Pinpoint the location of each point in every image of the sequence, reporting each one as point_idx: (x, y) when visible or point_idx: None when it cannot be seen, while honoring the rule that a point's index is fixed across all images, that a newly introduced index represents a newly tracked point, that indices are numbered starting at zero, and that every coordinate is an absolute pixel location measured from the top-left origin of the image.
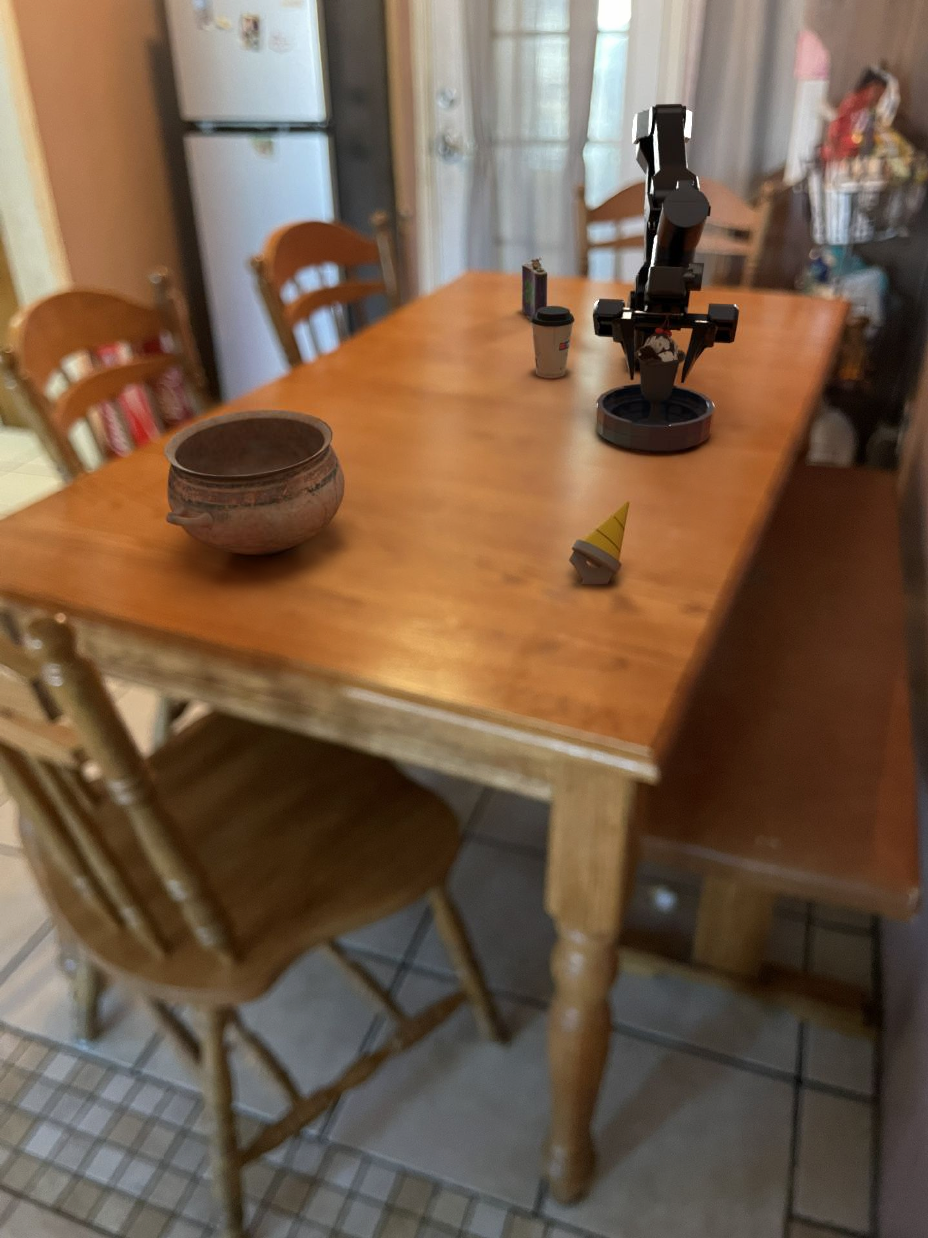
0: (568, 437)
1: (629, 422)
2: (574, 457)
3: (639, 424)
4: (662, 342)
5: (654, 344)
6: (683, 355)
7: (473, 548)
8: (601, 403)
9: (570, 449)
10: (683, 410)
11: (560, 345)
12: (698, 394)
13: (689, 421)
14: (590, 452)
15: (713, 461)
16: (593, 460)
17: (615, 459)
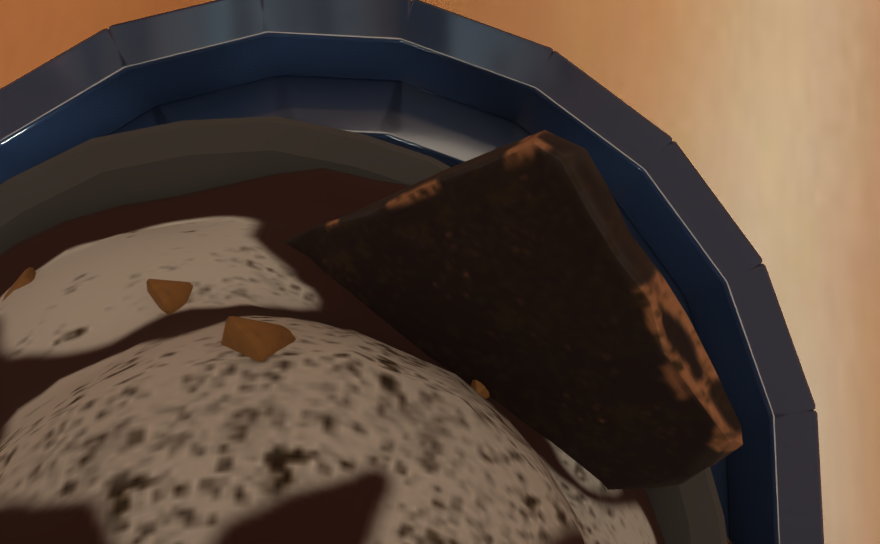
0: (877, 384)
1: (572, 69)
2: (829, 90)
3: (498, 30)
4: (180, 377)
5: (408, 377)
6: None
7: None
8: (786, 485)
9: (856, 201)
10: None
11: None
12: None
13: (87, 69)
14: (740, 156)
15: (15, 11)
16: (723, 47)
17: (598, 57)
